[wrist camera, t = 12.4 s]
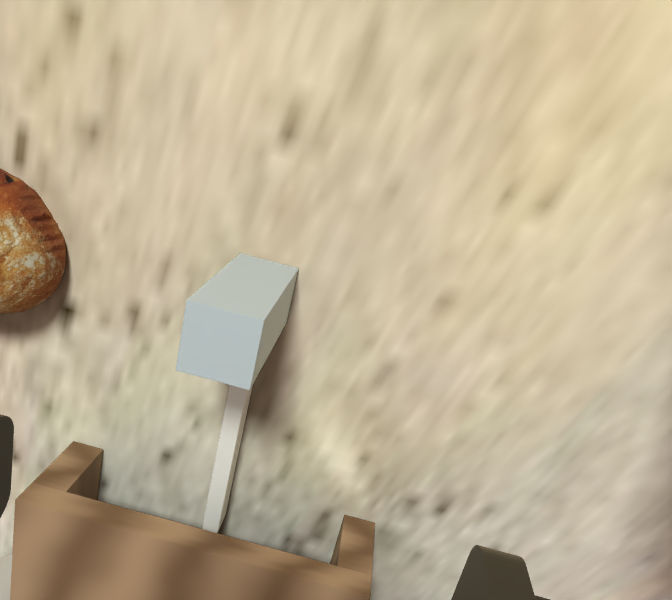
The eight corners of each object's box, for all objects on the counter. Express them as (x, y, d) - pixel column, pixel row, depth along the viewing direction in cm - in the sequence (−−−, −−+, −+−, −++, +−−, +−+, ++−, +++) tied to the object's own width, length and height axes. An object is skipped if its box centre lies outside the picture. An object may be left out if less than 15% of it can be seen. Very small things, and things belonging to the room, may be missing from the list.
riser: (375, 523, 43) (370, 597, 37) (344, 619, 46) (335, 703, 40) (73, 441, 44) (15, 499, 37) (64, 542, 47) (9, 612, 40)
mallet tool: (298, 268, 38) (264, 320, 28) (242, 519, 44) (200, 628, 35) (240, 253, 38) (186, 299, 28) (193, 505, 45) (138, 611, 35)
